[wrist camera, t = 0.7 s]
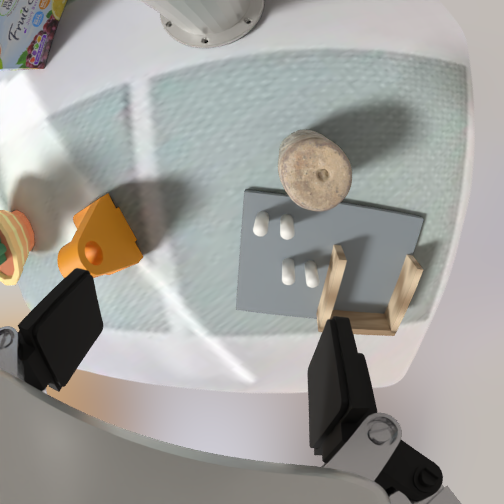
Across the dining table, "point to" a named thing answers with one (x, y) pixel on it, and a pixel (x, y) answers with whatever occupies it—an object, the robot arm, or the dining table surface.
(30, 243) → the potted cactus
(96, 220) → the bracket
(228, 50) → the dining table surface
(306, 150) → the carving
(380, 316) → the end holder
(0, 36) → the snack box
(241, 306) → the board
